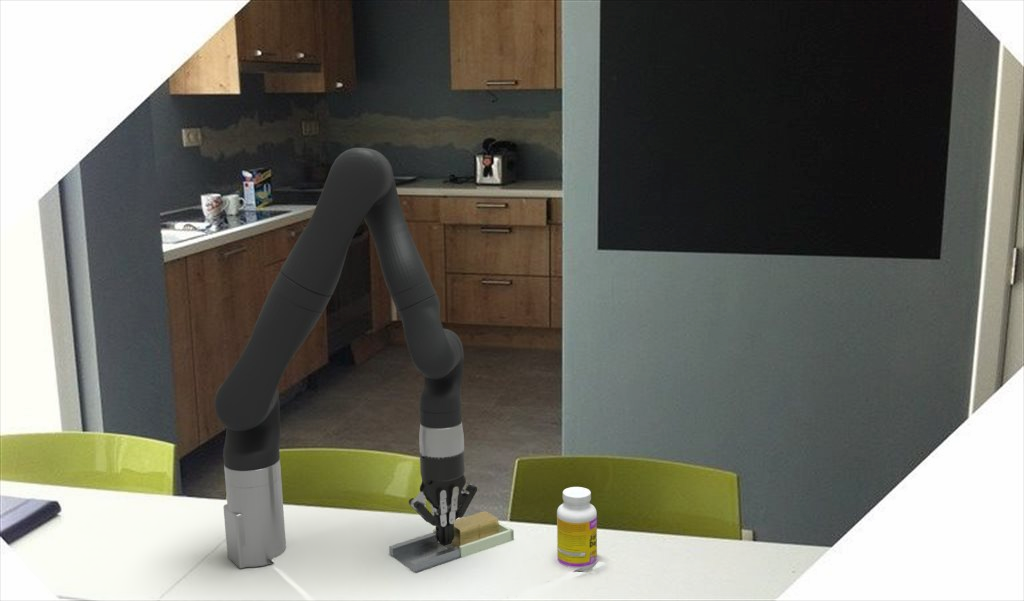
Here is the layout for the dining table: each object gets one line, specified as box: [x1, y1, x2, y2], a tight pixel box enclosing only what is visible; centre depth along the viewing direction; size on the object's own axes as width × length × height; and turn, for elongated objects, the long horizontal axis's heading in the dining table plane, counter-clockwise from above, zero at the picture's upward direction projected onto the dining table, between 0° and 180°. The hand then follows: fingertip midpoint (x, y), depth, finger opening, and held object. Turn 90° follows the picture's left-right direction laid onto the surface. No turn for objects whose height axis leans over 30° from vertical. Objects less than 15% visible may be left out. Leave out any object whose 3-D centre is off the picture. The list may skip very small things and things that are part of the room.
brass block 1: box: [451, 516, 480, 547], centre depth 166 cm, size 4×4×4 cm
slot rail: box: [388, 531, 463, 574], centre depth 161 cm, size 9×9×2 cm
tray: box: [432, 521, 515, 558], centre depth 167 cm, size 11×9×3 cm
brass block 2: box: [467, 510, 499, 539], centre depth 168 cm, size 4×4×4 cm
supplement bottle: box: [556, 486, 598, 573], centre depth 158 cm, size 7×7×13 cm
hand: (445, 543), depth 164 cm, fingers closed
